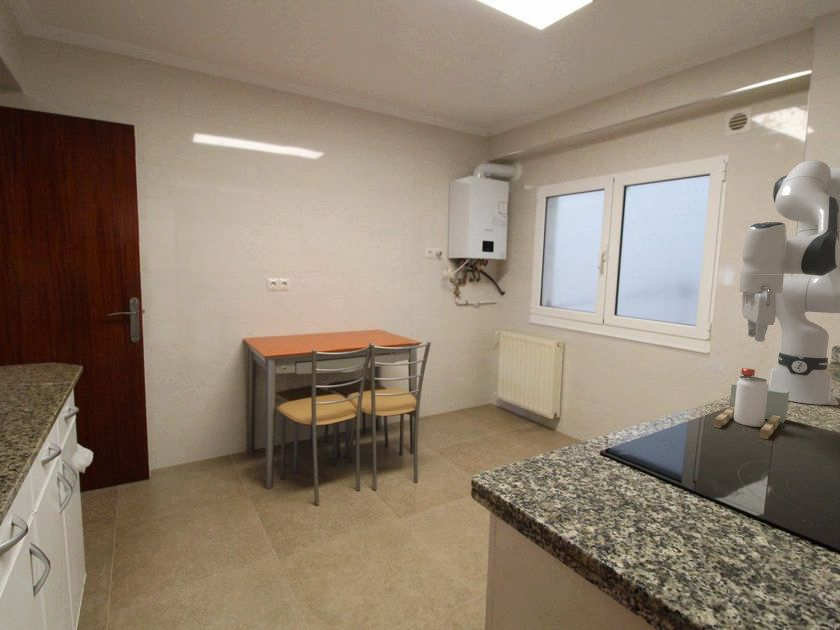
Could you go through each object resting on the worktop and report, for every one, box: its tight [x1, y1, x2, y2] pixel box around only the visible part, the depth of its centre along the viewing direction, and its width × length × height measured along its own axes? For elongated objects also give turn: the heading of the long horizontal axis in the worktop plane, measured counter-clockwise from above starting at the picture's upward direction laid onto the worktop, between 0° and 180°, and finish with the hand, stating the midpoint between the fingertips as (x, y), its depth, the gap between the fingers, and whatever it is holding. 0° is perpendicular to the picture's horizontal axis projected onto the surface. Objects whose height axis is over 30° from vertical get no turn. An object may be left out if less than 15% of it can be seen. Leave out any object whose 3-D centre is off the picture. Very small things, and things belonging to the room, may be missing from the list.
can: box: [733, 375, 769, 428], centre depth 115 cm, size 6×6×12 cm
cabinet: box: [729, 381, 789, 424], centre depth 122 cm, size 5×12×8 cm, turn 43°
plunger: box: [740, 367, 756, 377], centre depth 124 cm, size 3×3×8 cm
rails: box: [712, 406, 781, 440], centre depth 114 cm, size 17×11×2 cm, turn 133°
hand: (755, 338), depth 116 cm, fingers open, 8 cm apart
